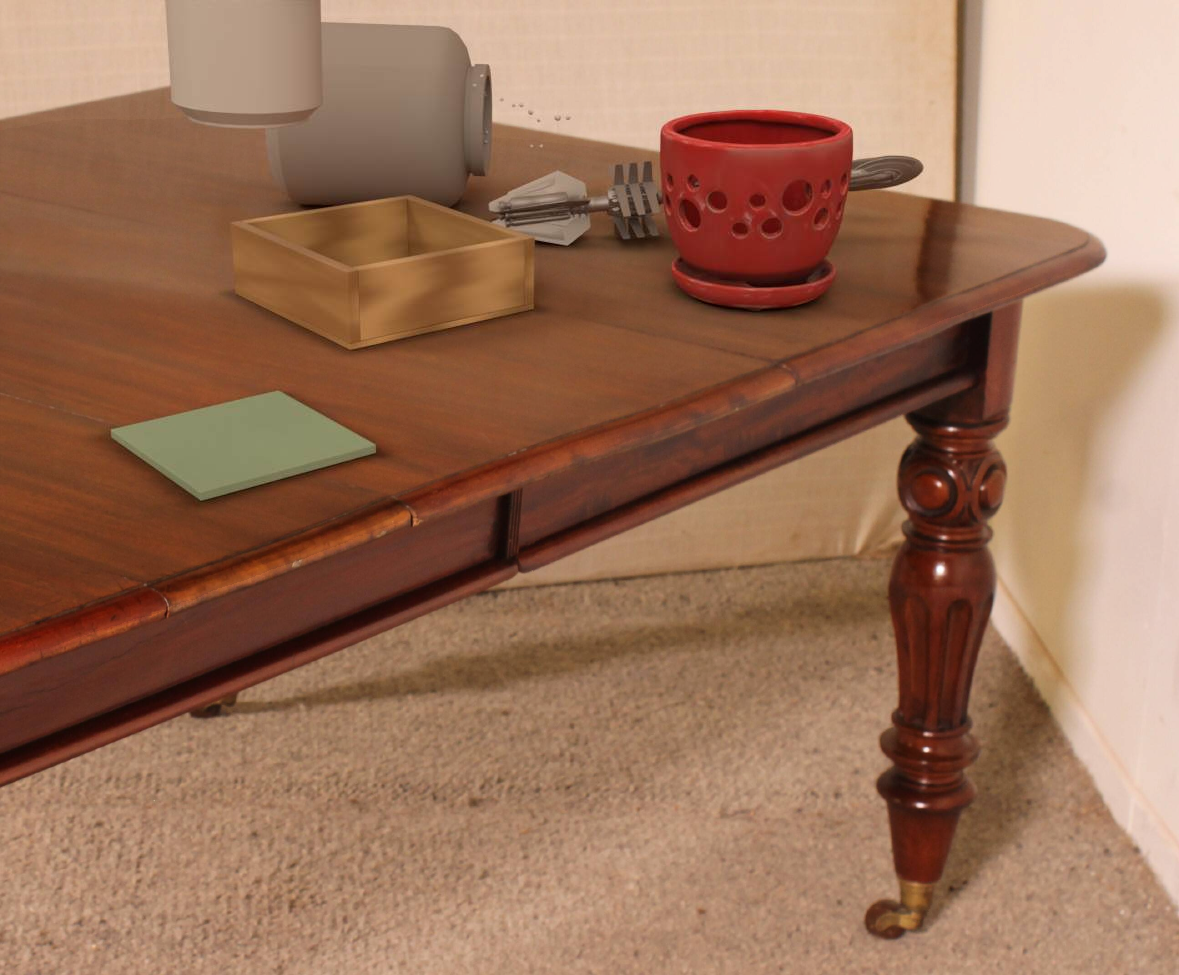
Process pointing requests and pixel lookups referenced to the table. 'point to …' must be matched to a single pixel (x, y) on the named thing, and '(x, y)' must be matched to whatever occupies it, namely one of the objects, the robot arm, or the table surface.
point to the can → (245, 61)
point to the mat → (241, 444)
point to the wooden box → (382, 269)
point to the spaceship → (638, 199)
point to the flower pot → (754, 204)
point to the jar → (389, 119)
